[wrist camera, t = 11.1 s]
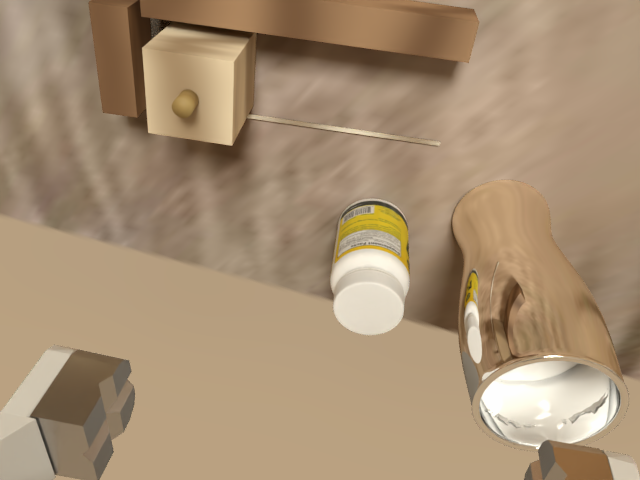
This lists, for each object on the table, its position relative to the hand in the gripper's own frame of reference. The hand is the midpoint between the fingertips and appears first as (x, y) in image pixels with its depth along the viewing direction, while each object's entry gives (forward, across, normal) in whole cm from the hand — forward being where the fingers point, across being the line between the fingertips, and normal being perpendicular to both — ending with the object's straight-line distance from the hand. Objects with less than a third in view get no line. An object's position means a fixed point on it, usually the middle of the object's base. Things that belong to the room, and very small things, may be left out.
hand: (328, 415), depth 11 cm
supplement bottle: (+25, -1, +13) cm, 28 cm away
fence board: (+25, +6, +2) cm, 25 cm away
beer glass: (+25, -9, +11) cm, 29 cm away
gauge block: (+24, +10, +3) cm, 27 cm away
